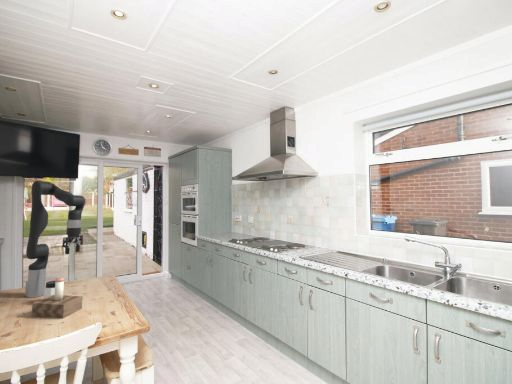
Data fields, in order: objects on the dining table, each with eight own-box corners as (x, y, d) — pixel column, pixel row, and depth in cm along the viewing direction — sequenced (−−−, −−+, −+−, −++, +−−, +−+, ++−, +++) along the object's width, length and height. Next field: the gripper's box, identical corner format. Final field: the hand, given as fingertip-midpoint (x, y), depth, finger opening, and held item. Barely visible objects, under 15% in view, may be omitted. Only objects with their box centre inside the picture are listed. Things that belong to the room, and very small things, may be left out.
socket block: (31, 316, 146) (32, 303, 147) (52, 306, 160) (53, 294, 161) (63, 318, 145) (63, 304, 145) (81, 308, 159) (82, 296, 159)
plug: (52, 303, 151) (53, 279, 152) (57, 300, 155) (59, 277, 156) (58, 303, 151) (60, 279, 152) (64, 301, 155) (66, 277, 155)
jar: (58, 303, 166) (59, 283, 167) (42, 304, 163) (43, 284, 164) (62, 298, 174) (64, 279, 175) (47, 299, 172) (48, 280, 172)
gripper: (76, 226, 179) (75, 250, 178) (59, 227, 165) (57, 254, 164) (87, 226, 178) (86, 251, 177) (71, 227, 164) (69, 255, 163)
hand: (72, 252), depth 171 cm, fingers open, 8 cm apart
